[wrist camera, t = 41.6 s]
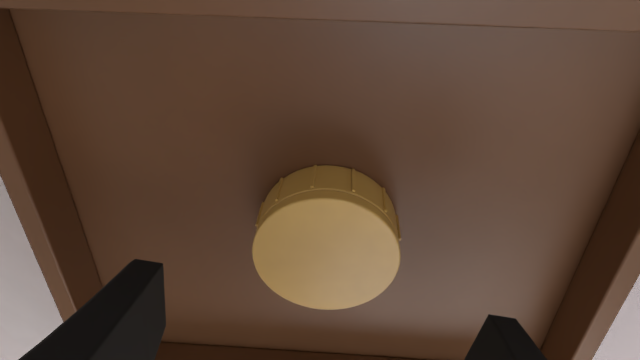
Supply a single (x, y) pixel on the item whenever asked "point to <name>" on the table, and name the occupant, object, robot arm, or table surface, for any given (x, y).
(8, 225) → the table surface
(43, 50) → the tray
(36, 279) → the table surface
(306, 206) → the cap
